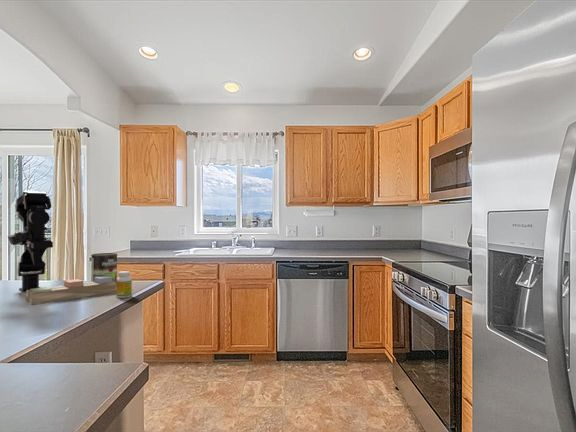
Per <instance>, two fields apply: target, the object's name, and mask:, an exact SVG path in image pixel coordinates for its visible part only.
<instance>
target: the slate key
mask: <svg viewBox="0 0 576 432" xmlns="http://www.w3.org/2000/svg"><path fill="white" fill-rule="evenodd" d="M94 282H95V283H98V284H102V283H109V282H112V277H110V276H99V277H94Z"/></svg>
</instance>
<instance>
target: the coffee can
mask: <svg viewBox="0 0 576 432" xmlns="http://www.w3.org/2000/svg"><path fill="white" fill-rule="evenodd" d="M90 255H91V260H90V261H91V264H90V265H91V268H90V269H91V274H90V275H91V276H90V282H94V277H99V276H110V277H112V281H114V282H116V286H117V278H118V275H117V274H118V272H117V271H118V270H117V269H118V253H115V252H99V253H91V254H90Z"/></svg>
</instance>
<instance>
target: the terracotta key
mask: <svg viewBox="0 0 576 432" xmlns="http://www.w3.org/2000/svg"><path fill="white" fill-rule="evenodd" d="M83 283H84V280H82V279H79V278H76V279H67V280H64V283H63V284H64V286H65V287H67V288H73V287H80V286H83Z"/></svg>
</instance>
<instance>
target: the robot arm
mask: <svg viewBox="0 0 576 432" xmlns="http://www.w3.org/2000/svg"><path fill="white" fill-rule="evenodd" d="M51 208H52V201H51V198H50V196H49V194H47V192H45V191H40V192H39V191H35V190H24V191H22V194H21V195H20V196H19V197H18V198H16V203H15V212H16V213H17V218H18V219H19V221H21V223H22V231H18V232H15V233H13V234H10V235H8V236H7V239H8V241H9V243H10V245H13V246H17V245H20V246H23V249H24V250H23V253H22V254H21V256H20V259H19V261H18V266H17V277H21V287H19V289H18V290H20V291H21V292H25V293H26V290H31V289H34V288H42V286H40V275H45V273H46V271H45V270H46V262H45V260H44V259H43V256H44V254H45V252H46V251H47V249H50V248H53V247H54V242H53V241H52V240H50V239H47V237H46V231H48V229H47V227H46V224H48V223H49V221H50V215H49V213H48V212H47V211H48V210H51ZM46 210H47V211H46Z"/></svg>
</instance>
